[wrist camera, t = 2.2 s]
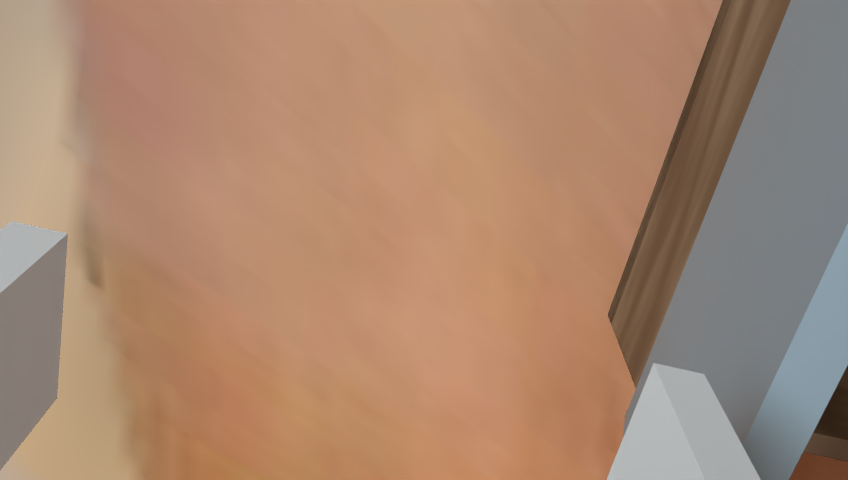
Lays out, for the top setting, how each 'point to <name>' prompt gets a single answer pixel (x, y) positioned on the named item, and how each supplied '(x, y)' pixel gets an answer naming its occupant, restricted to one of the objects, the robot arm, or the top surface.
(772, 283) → the lid
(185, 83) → the top surface
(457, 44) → the top surface
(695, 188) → the storage box
